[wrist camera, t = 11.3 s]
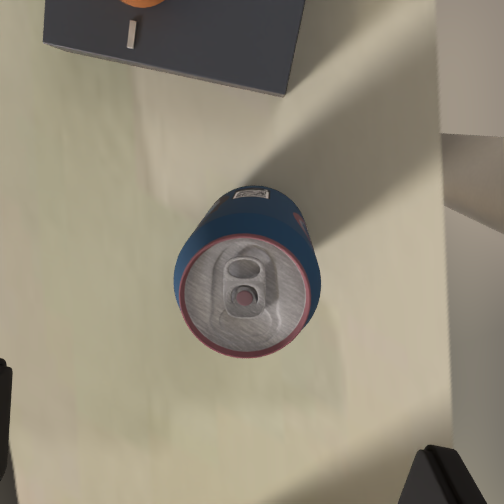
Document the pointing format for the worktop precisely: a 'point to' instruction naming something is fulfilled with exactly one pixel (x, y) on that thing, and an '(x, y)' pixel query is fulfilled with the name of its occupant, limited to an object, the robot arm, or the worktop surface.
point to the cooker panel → (185, 37)
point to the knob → (142, 3)
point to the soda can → (248, 274)
